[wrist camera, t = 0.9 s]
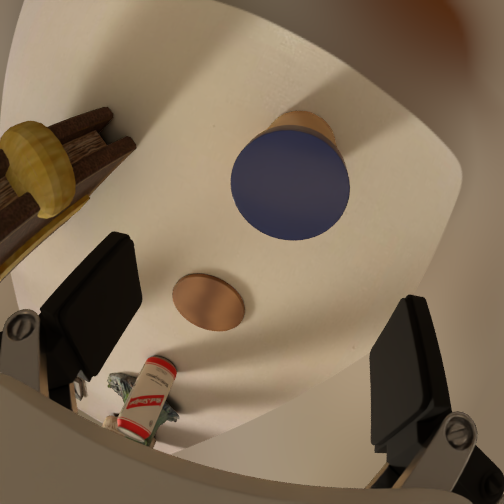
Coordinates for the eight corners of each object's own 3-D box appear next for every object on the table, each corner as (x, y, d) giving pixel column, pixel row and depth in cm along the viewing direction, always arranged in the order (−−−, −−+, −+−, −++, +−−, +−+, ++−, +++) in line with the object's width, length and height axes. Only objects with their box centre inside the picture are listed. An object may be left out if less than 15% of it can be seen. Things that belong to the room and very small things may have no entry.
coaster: (248, 283, 36) (247, 286, 36) (241, 335, 42) (240, 338, 42) (171, 265, 37) (169, 268, 37) (176, 318, 43) (174, 321, 43)
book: (68, 231, 38) (-45, 351, 18) (36, 188, 35) (-86, 293, 15) (160, 140, 28) (-54, 306, 8) (115, 81, 25) (-116, 179, 5)
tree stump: (95, 361, 62) (74, 423, 46) (173, 366, 62) (163, 436, 47) (120, 400, 71) (108, 455, 56) (188, 406, 71) (183, 465, 56)
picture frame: (83, 396, 83) (81, 380, 73) (80, 401, 81) (78, 385, 71) (52, 376, 82) (47, 356, 71) (50, 380, 80) (43, 360, 69)
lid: (360, 138, 16) (363, 145, 15) (334, 236, 20) (334, 250, 19) (243, 116, 17) (235, 121, 15) (233, 215, 21) (226, 228, 19)
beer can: (151, 349, 50) (113, 422, 37) (182, 365, 51) (149, 440, 38) (146, 363, 54) (112, 429, 41) (174, 377, 54) (145, 445, 42)
